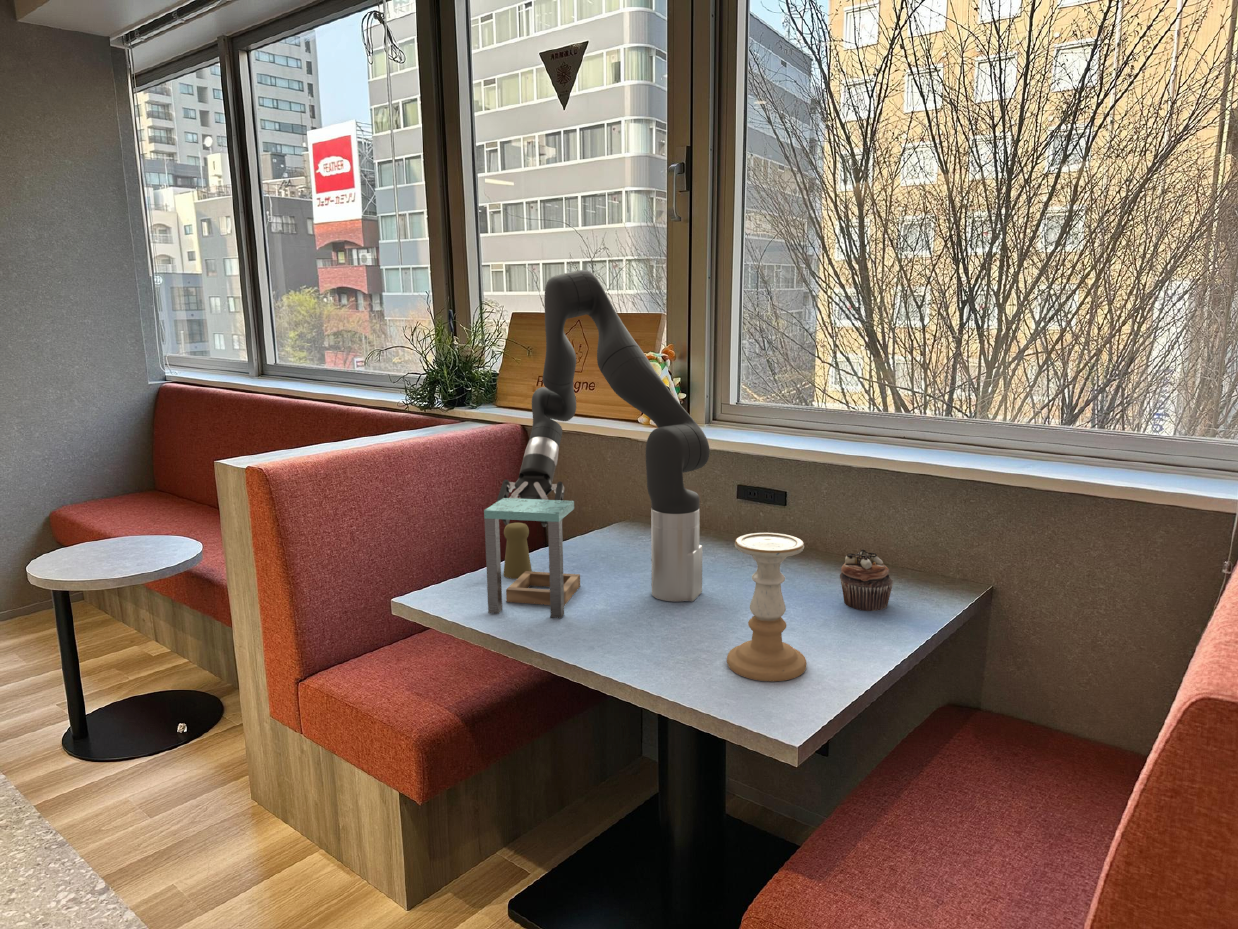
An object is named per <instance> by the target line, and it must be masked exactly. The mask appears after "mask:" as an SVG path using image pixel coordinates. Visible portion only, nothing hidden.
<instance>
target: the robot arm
mask: <svg viewBox="0 0 1238 929" xmlns="http://www.w3.org/2000/svg"><path fill="white" fill-rule="evenodd" d="M543 298H544V300H543V301H544V305H543V306H544V329H545V358H544V367H543V372H542V384H543V385H544V386H542V387H538V388H537V389H536V390H535V391H534V392H533V394H532V397H531V411H532V412H531V413H532V425H531V426H532V427H531V430H530V435H529V439H528V442H527V445H526V448H525V450H524V455H523V458H522V461H521V466H520V469H519V475H518V478H517V480H516V481H515V482H513V481H509V479H507V478H506V479H503V481H502V484H501V486H500V490H499V493H498V496H497V499H496V500H497V501H496V502H498V501H500V500H501V499H503V498H517V499H541V500H550V499H549V497H548V495H549V494H550V493H551V492H552V491H553V492H554V500H564V497H565V490H566V488H565V486H564V484H563V482H562V481H558V482H557V483H553V480H554V476H555V472H556V469H557V468H556V467H557V465H558V459H559V449H560V445H561V440H562V437H563V436H562V435H563V427H562V425H561V424H560V423H558V421H559V422H569V421H570V420H572V419H573V418H574V416H575V414H576V412H577V398H576V394H575V389H574V378H575V372H576V366H577V355H576V351H575V349H574V347H573V344H572V343H571V341H569V340H570V339H569V338H568V337H567V335H566V333H565V324H566V322H567V319H573V318H578V317H581V316H586V315H588V316H589V318H591V319H592V321H593V323H594V324H595V326H596V328H597V331H598V339H597V340H598V341H597V350H596V351H597V352H596V361H597V362H596V363H597V366H598V369H599V371H600V373H601V375H602V376H603V377H604V379H605V380H606V381H607V384H608V385H609V386H610V388H611V389H612V391H613V392H614V393H615V394H616V395H617V396H618V397H619V398H621V400H623V401H624V402H626V403H627V404H629V405H630V406H632V407H633V408H635V409H637V411H639V412H641V413H642V414H643V415H645V416H646V417H647V418H649V419H650V420H651V421H652V422H653V423H654V424H655V425H656V427H657V428H654V429H653V430H652V431H651V432H650V433H649V435H648V437H647V441H646V444H645V468H646V469H645V470H646V488H647V492H648V496H649V498H650V503H651V504H650V506H651V508H650V510H651V512H650V516H651V517H650V519H651V521H650V523H651V525H650V526H651V527H650V528H651V530H650V531H651V536H650V537H651V542H650V543H651V548H650V550H651V553H650V554H651V556H650V557H651V559H650V560H651V581H650V582H651V583H650V584H651V595H652V597H654V598H656V599H657V600H661V601H666V602H684V601H685V602H687V601H688V602H694V601H695V600H696V599H697V598H698V597H699V596H700V595H701V594H702V592H703V545H702V544H700V507H701V506H700V502H701V500H700V495H699V494H698V493H697V492H696V491H693V490H691V489H688V488H686V487H685V484H684V477H683V476H684V474H685V473H688V472H694V471H697V470H700V469H702V468H703V467H705V466H706V465H707V463H708V461H709V458H710V450H711V449H710V445H709V441H708V439H707V436H706V434H705V433H704V431H703V429H702V428H701V427H700V426H699V424H698V423H697V421H695V420H694V418H693V417H692V415H690V414H689V413H688V412H687V410H686V409H685V408H684V407H683V406H682V404H681V403H680V402H679V401H678V400H677V398H676V397H675V396H674V395H673V393H672V392H671V391H670V389H669V388H668V387H667V385H666V384H665V382H664V381H663V380H662V378H661V377H660V375H659V374H658V373H657V371H656V370H655V368H654V367H653V364H652V363H651V361H650V360H649V359H648V357H647V356H646V354H645V353H644V351H643V350H642V348H641V347H640V346H639V344H638V343H637V342H636V341H635V339H634V338H633V336H632V335H631V333H630V332H629V331H628V329H627V327H626V326H625V324H624V323H623V320H622V319H621V318H620V316H619V315H618V312H617V311H616V309H615V308H614V305H613V304H612V302H611V300H610V298H609V296H608V294H607V293H606V291H605V288H604V287H603V285H602V284H601V282H600V280H599V279H598V277H597V276H595V274H594V273H593V272H592V271H590V270H587V269H580V270H576V271H575V270H574V271H570V272H565V273H564V272H563V273H561V274H556V275H553V276H551V277H549V279H547V281H546V284H545V289H544V297H543ZM555 420H556V421H555ZM514 489H515V490H514ZM513 490H514V491H513ZM512 491H513V492H512ZM510 493H511V494H510ZM509 495H510V496H509ZM501 520H502V522H503V524H504V525H505V526H506V525H508V524H510V520H508V519H501ZM540 524H541V527H543V528H547V526H548V521H540Z"/></svg>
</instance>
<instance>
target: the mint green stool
mask: <svg viewBox="0 0 1238 929" xmlns="http://www.w3.org/2000/svg"><path fill="white" fill-rule="evenodd" d="M573 510H575V500H564V499H563V500H555V499H549V500H541V499H517V498H509V497H508V498H503V499H501V500H500V501H498V502H497V501H496V502H495V503H493V504H492V505H490V506H489V507H487V508H485V509H484V510H483V513H484V514H483V516H484V517H483V519H484V538H485V561H486V562H485V564H486V586H487V587H486V588H487V589H486V590H487V591H486V592H487V610H488V611H487V612H488V614H494V615H495V614H497V615H499V614H500V613H501V612H502V611H503V593H502V591H503V590H502V568H501V567H502V566H501V565H502V564H501V562H502V561H501V542H500V539H501V537H500V536H501V535H500V520H502V519H508V520H512V521H513V520H514V521H533V522H535V521H536V522H541V521H548V524H547V526H548V527H547V531H548V566H549V567H548V568H549V569H548V570H549V575H550V587H549V590H550V605H549V606H550V607H549V608H550V611H549V612H550V619H551V618H553V619H562V618H563V617H564V616H565V606H564V579H563V573H564V543H563V539H564V538H563V520H564V518H565V517H566V516H567V515H569V514H570V513H571V512H572V511H573ZM563 615H564V616H563ZM562 616H563V617H562Z"/></svg>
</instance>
